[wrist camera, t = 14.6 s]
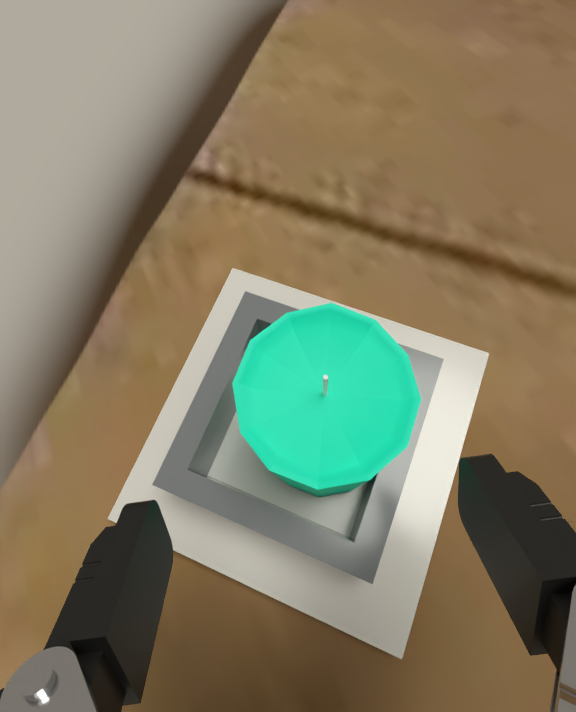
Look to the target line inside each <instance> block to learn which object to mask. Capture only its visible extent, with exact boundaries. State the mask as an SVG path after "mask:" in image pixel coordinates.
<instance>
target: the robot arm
mask: <svg viewBox="0 0 576 712" xmlns="http://www.w3.org/2000/svg"><path fill="white" fill-rule="evenodd" d="M458 507H459V513H460V517H461V520H462V523H463V525H464V527H465V529H466V531H467V533H468V535H469V537H470V539H471V541H472V543H473V545H474V547H475V549H476V551H477V553H478V555H479V557H480V559H481V561H482V562H483V564H484V566H485V568H486V570H487V572H488V574H489V576H490V578H491V580H492V582H493V584H494V586H495V588H496V590H497V592H498V594H499V596H500V598H501V599H502V601H503V603H504V605H505V607H506V609H507V611H508V613H509V615H510V617H511V619H512V621H513V623H514V625H515V627H516V629H517V631H518V633H519V635H520V637H521V638H522V640H523V642H524V644H525V646H526V648H527V650H528V652H529V654H530V656H531V655H539V654H547V653H548V655H549V656H550V658H551V660H552V662H553V664H554V665H555V667H556V674H555V680H554V686H553V693H552V700H551V706H550V712H576V533H575V531H574V530H573V529H572V528H571V526H570V525H569V524H568V523H567V521H566V520H565V519H563V518H562V515H561V514H560V513H559V511H558V510H557V509H556V507H555V506H554V505H552V504H551V501H550V500H549V499H548V497H547V496H546V495H545V494H544V492H543V491H542V490H541V489H540V487H539V486H538V485H537V484H536V483H534V482H533V481H531V480H530V479H528V478H527V477H525V476H524V475H522V474H521V473H519V472H518V471H517V472H509V473H506V471H505V470H504V469H503V467H502V466H501V465H500V463H499V462H498V460H497V459H496V458H495V457H494V456H493V455H492V454H486V455H479V456H471V457H464V458H461V459H460V462H459V486H458ZM172 563H173V546H172V541H171V538H170V535H169V532H168V529H167V527H166V524H165V521H164V518H163V516H162V513H161V510H160V507H159V505H158V503H157V501H156V500H149V501H142V502H134V503H127V504H125V505H124V507H123V508H122V511H121V513H120V516H119V518H118V521H117V523H116V526H111V527H106V528H105V529H104V530H103V531H102V532H101V533H100V535H99V536H98V537H97V538H96V539H95V540H94V542H93V543H92V544H91V545H90V548H89V550H88V552H87V554H86V557H85V559H84V561H83V563H82V564H83V566H82V567H81V568H80V570H79V572H78V575H77V577H76V579H75V580H76V582H75V584H73V586H72V588H71V590H70V592H69V595H68V597H67V599H66V601H65V604H64V606H63V608H62V610H61V613H60V615H59V617H58V619H57V622H56V624H55V626H54V628H53V631H52V633H51V635H50V637H49V639H48V642H47V644H46V646H45V648H44V650H43V651H41V652H39V653H37V654H35V655H34V656H32V657H31V658H30V659H28V660H27V661H26V662H25V663H24V664H22V665H21V666H20V667H19V668H18V670H17V671H16V672H15V673H14V674H13V676H12V677H11V678H10V680H9V681H8V683H7V685H6V686H5V688H3V689H1V690H0V712H121V710H122V706H123V705H130V704H138V703H141V699H142V694H143V690H144V686H145V681H146V677H147V673H148V668H149V664H150V660H151V655H152V651H153V646H154V642H155V638H156V633H157V629H158V625H159V620H160V616H161V612H162V607H163V603H164V599H165V594H166V590H167V586H168V581H169V577H170V573H171V568H172Z"/></svg>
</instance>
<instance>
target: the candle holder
mask: <svg viewBox="0 0 576 712" xmlns="http://www.w3.org/2000/svg"><path fill="white" fill-rule="evenodd" d="M328 303H334V304H336V305H339V306H342V307H344V308H347V309H349V310H352V311H355V312H357V313H360V314H362V315H365V316H367V317H370V318H373V319H375V320H377V322H378V323H379V324H380V325H381V326H382V327H383V328H384V329H385V330H386V331H387V332H388V333H389V335H390V336H391V337H392V338H393V339H394V340H395V341H396V342H397V343H398V344H399V345H400V347H401V348H402V349H403V350H404V351H405V352H406V353H407V354H408V356H409V360H410V363H411V366H412V370H413V373H414V376H415V380H416V383H417V387H418V390H419V393H420V397H421V402H420V406H419V409H418V413H417V416H416V420H415V423H414V427H413V430H412V433H411V437H410V440H409V444H408V447H407V448H406V449H404V450H403V451H402V452H401V453H400V454H399V455H398V456H397V457H395V458H394V459H393V460H392V461H391V462H390V463H389V464H388V465H386V466H385V467H384V468H383V469H382V470H381V471H380V472H379V473H377V474H376V475H375V476H374V477H373V478H372V479H371V480H369V481H368V482H366V483H364V484H362V485H361V486H359V487H357V488H355V489H353V490H352V491H350V492H347V493H342V494H336V495H330V496H324V497H317V496H314V495H312V494H309V493H306V492H304V491H301V490H299V489H296V488H294V487H291V486H290V485H288V484H287V483H286V482H284V481H283V480H281V479H280V478H279V477H277V476H276V475H275V474H273V473H272V472H270V471H269V470H268V469H267V467H266V466H265V465H264V463H263V462H262V461H261V459H260V458H259V457H258V455H257V454H256V453H255V451H254V450H253V449H252V448H251V446H250V445H249V444H248V442H247V441H246V440H245V438H244V437H243V436H242V434H241V433H240V429H239V423H238V416H237V410H236V404H235V397H234V391H233V385H232V383H233V381H234V378H235V376H236V373H237V371H238V368H239V366H240V364H241V361H242V359H243V356H244V354H245V351H246V349H247V346H248V344H249V342H250V340H251V339H252V338H254V337H255V336H256V335H258V334H259V333H260V332H262V331H263V330H264V329H266V328H267V327H268V326H270V325H271V324H272V323H274V322H275V321H276V320H278V319H279V318H280V317H282V316H283V315H284V314H286V313H288V312H293V311H297V310H301V309H306V308H310V307H315V306H319V305H324V304H328ZM488 356H489V353H487V352H484V351H481V350H478V349H475V348H472V347H469V346H466V345H463V344H460V343H457V342H454V341H451V340H448V339H445V338H442V337H439V336H436V335H433V334H430V333H427V332H424V331H421V330H418V329H415V328H412V327H409V326H406V325H403V324H400V323H397V322H394V321H391V320H388V319H385V318H382V317H379V316H376V315H373V314H370V313H367V312H364V311H361V310H358V309H355V308H352V307H349V306H346V305H343V304H340V303H337V302H334V301H331V300H328V299H325V298H322V297H318V296H315V295H312V294H309V293H306V292H303V291H300V290H297V289H294V288H291V287H288V286H285V285H282V284H279V283H276V282H273V281H270V280H267V279H264V278H261V277H258V276H255V275H252V274H249V273H246V272H243V271H240V270H237V269H234V268H232V270H231V272H230V274H229V276H228V278H227V280H226V282H225V284H224V286H223V288H222V290H221V292H220V294H219V297H218V299H217V301H216V303H215V305H214V307H213V309H212V311H211V313H210V315H209V317H208V319H207V321H206V323H205V325H204V327H203V329H202V331H201V333H200V335H199V337H198V339H197V341H196V343H195V345H194V347H193V349H192V351H191V353H190V355H189V357H188V359H187V361H186V363H185V365H184V367H183V369H182V371H181V373H180V375H179V377H178V379H177V381H176V383H175V385H174V387H173V389H172V391H171V393H170V395H169V397H168V399H167V401H166V403H165V405H164V407H163V409H162V411H161V413H160V415H159V417H158V419H157V421H156V423H155V425H154V427H153V429H152V431H151V433H150V435H149V437H148V439H147V441H146V443H145V445H144V447H143V449H142V451H141V453H140V455H139V457H138V459H137V461H136V463H135V465H134V467H133V469H132V471H131V473H130V475H129V477H128V479H127V481H126V483H125V485H124V487H123V489H122V491H121V493H120V495H119V497H118V499H117V501H116V503H115V505H114V507H113V509H112V511H111V513H110V515H109V517H108V519H109V520H111V521H113V522H115V523H117V521H118V518H119V516H120V513H121V511H122V508H123V507H124V505H125V504H127V503H134V502H142V501H149V500H156V501H157V503H158V505H159V507H160V510H161V513H162V516H163V518H164V521H165V524H166V527H167V529H168V532H169V535H170V538H171V541H172V546H173V550H174V551H176V552H178V553H180V554H182V555H184V556H187V557H189V558H191V559H193V560H195V561H197V562H199V563H201V564H203V565H205V566H207V567H210V568H212V569H214V570H216V571H218V572H220V573H222V574H224V575H226V576H228V577H230V578H232V579H235V580H237V581H239V582H241V583H243V584H245V585H247V586H249V587H251V588H253V589H255V590H258V591H260V592H262V593H264V594H266V595H268V596H270V597H272V598H274V599H276V600H278V601H281V602H283V603H285V604H287V605H289V606H291V607H293V608H295V609H297V610H299V611H301V612H304V613H306V614H308V615H310V616H312V617H314V618H316V619H318V620H320V621H322V622H324V623H327V624H329V625H331V626H333V627H335V628H337V629H339V630H341V631H343V632H345V633H347V634H350V635H352V636H354V637H356V638H358V639H360V640H362V641H364V642H366V643H368V644H370V645H372V646H375V647H377V648H379V649H381V650H383V651H385V652H387V653H389V654H391V655H393V656H395V657H398V658H400V659H402V658H403V654H404V651H405V647H406V644H407V640H408V637H409V633H410V630H411V626H412V623H413V619H414V616H415V612H416V608H417V605H418V601H419V598H420V594H421V591H422V587H423V584H424V580H425V577H426V573H427V570H428V566H429V563H430V559H431V556H432V552H433V549H434V545H435V542H436V538H437V535H438V531H439V528H440V524H441V521H442V517H443V514H444V510H445V507H446V503H447V500H448V496H449V493H450V489H451V486H452V482H453V478H454V475H455V471H456V468H457V464H458V461H459V457H460V454H461V450H462V447H463V443H464V440H465V436H466V433H467V429H468V426H469V422H470V419H471V415H472V412H473V408H474V405H475V401H476V398H477V394H478V391H479V387H480V384H481V380H482V377H483V373H484V370H485V366H486V363H487V359H488Z"/></svg>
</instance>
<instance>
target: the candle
mask: <svg viewBox="0 0 576 712" xmlns="http://www.w3.org/2000/svg"><path fill="white" fill-rule="evenodd" d="M232 385H233V391H234V397H235V404H236V410H237V416H238V423H239V429H240V433H241V434H242V436H243V437H244V438H245V440H246V441H247V442H248V444H249V445H250V446H251V448H252V449H253V450H254V451H255V453H256V454H257V455H258V457H259V458H260V459H261V461H262V462H263V463H264V465H265V466H266V467H267V469H268V470H269V471H270V472H272V473H273V474H275V475H276V476H277V477H279V478H280V479H281V480H283V481H284V482H286V483H287V484H288V485H290V486H291V487H294V488H296V489H299V490H301V491H304V492H306V493H309V494H312V495H314V496H317V497H324V496H330V495H336V494H342V493H347V492H350V491H352V490H353V489H355V488H357V487H359V486H361V485H362V484H364V483H366V482H368V481H369V480H371V479H372V478H373V477H374V476H375V475H376V474H377V473H379V472H380V471H381V470H382V469H383V468H384V467H385V466H386V465H388V464H389V463H390V462H391V461H392V460H393V459H394V458H395V457H397V456H398V455H399V454H400V453H401V452H402V451H403V450H404V449H406V448H407V447H408V444H409V440H410V437H411V433H412V430H413V427H414V423H415V420H416V416H417V413H418V409H419V406H420V402H421V397H420V393H419V390H418V387H417V383H416V380H415V376H414V373H413V370H412V366H411V363H410V360H409V356H408V354H407V353H406V352H405V351H404V350H403V349H402V348H401V347H400V345H399V344H398V343H397V342H396V341H395V340H394V339H393V338H392V337H391V336H390V335H389V333H388V332H387V331H386V330H385V329H384V328H383V327H382V326H381V325H380V324H379V323H378V322H377V320H375V319H373V318H370V317H367V316H365V315H362V314H360V313H357V312H355V311H352V310H349V309H347V308H344V307H342V306H339V305H336V304H334V303H328V304H324V305H319V306H315V307H310V308H306V309H301V310H297V311H293V312H288V313H286V314H284V315H283V316H282V317H280V318H279V319H278V320H276V321H275V322H274V323H272V324H271V325H270V326H268V327H267V328H266V329H264V330H263V331H262V332H260V333H259V334H258V335H256V336H255V337H254V338H252V339H251V340H250V342H249V344H248V346H247V349H246V351H245V354H244V356H243V359H242V361H241V364H240V366H239V368H238V371H237V373H236V376H235V378H234V381H233V383H232Z"/></svg>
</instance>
